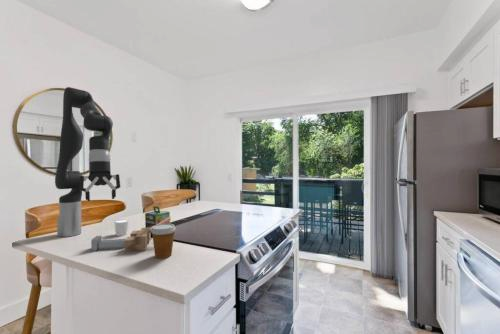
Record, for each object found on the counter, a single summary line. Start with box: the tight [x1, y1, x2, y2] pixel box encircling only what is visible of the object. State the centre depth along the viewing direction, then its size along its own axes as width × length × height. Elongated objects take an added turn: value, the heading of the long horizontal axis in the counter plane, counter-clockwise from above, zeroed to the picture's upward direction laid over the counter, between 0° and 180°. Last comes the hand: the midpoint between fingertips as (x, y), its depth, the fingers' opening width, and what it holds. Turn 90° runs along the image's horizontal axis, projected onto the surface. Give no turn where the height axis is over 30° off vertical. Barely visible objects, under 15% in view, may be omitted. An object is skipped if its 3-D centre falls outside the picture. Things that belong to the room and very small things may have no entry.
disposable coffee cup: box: [151, 223, 176, 260], centre depth 96 cm, size 10×10×12 cm
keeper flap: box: [148, 215, 172, 233], centre depth 110 cm, size 11×5×1 cm, turn 104°
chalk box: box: [144, 205, 171, 237], centre depth 127 cm, size 9×9×15 cm
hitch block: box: [124, 227, 152, 253], centre depth 108 cm, size 8×15×6 cm, turn 15°
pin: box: [90, 235, 127, 252], centre depth 105 cm, size 13×6×5 cm, turn 105°
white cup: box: [114, 219, 130, 237], centre depth 125 cm, size 7×7×7 cm
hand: (101, 200), depth 98 cm, fingers open, 8 cm apart
